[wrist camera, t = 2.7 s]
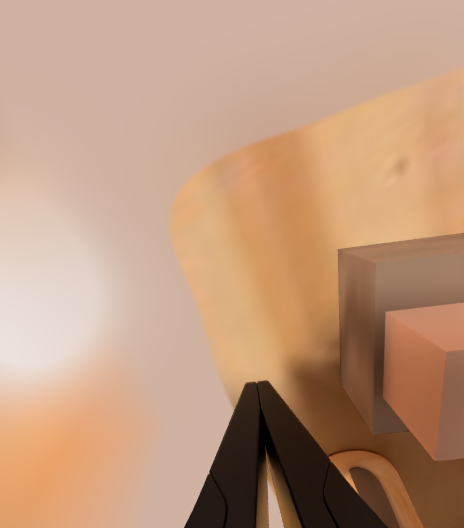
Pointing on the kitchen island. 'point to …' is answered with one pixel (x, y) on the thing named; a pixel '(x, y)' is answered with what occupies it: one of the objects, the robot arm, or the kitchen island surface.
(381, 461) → the beer glass
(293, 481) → the robot arm
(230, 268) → the kitchen island surface
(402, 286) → the dark walnut board
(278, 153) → the kitchen island surface
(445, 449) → the terracotta tile
